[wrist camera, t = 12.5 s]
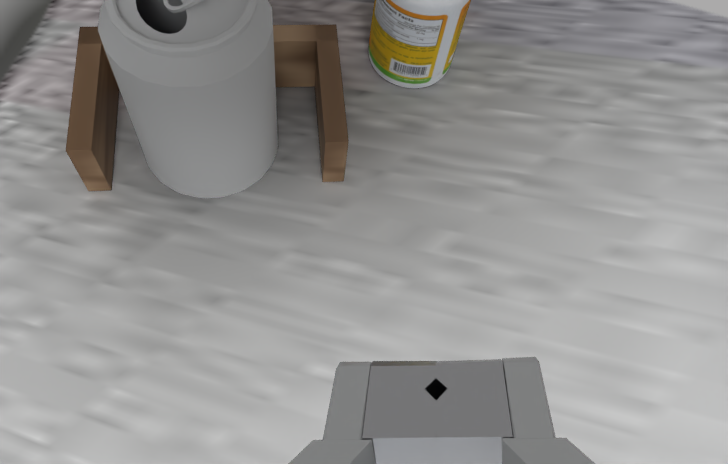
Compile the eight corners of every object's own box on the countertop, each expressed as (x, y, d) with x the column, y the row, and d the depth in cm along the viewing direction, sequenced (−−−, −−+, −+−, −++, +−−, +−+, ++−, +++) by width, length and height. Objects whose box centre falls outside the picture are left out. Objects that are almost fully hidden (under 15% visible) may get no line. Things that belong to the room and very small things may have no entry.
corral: (332, 70, 41) (335, 24, 38) (343, 181, 38) (348, 141, 34) (99, 74, 40) (79, 27, 36) (88, 191, 36) (65, 150, 33)
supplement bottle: (418, 14, 44) (448, -119, 36) (467, 70, 42) (511, -56, 34) (351, 44, 42) (365, -88, 34) (398, 103, 41) (426, -20, 32)
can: (124, 128, 38) (56, -40, 27) (240, 79, 40) (220, -95, 30) (182, 229, 36) (133, 87, 25) (302, 170, 38) (305, 17, 27)
